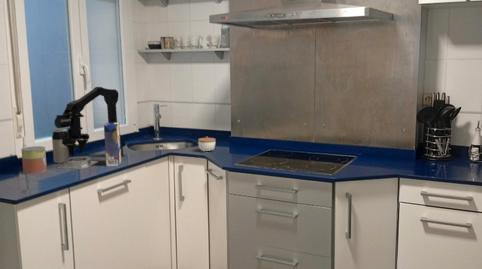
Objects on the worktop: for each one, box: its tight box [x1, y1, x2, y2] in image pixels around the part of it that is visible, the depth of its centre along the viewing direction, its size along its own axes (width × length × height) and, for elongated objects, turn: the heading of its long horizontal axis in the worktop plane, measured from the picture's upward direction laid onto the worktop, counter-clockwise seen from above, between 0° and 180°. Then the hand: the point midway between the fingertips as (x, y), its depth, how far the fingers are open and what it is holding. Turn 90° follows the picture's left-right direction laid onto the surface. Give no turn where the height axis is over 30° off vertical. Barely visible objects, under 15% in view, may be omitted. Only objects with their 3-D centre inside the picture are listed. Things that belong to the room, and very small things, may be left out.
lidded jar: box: [197, 136, 216, 152], centre depth 285 cm, size 11×11×9 cm
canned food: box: [20, 145, 48, 175], centre depth 237 cm, size 11×11×12 cm
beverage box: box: [103, 122, 122, 167], centre depth 252 cm, size 7×11×22 cm, turn 9°
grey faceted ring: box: [56, 156, 99, 170], centre depth 251 cm, size 16×16×3 cm
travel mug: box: [51, 128, 70, 164], centre depth 258 cm, size 8×8×18 cm
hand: (76, 154), depth 250 cm, fingers open, 9 cm apart
